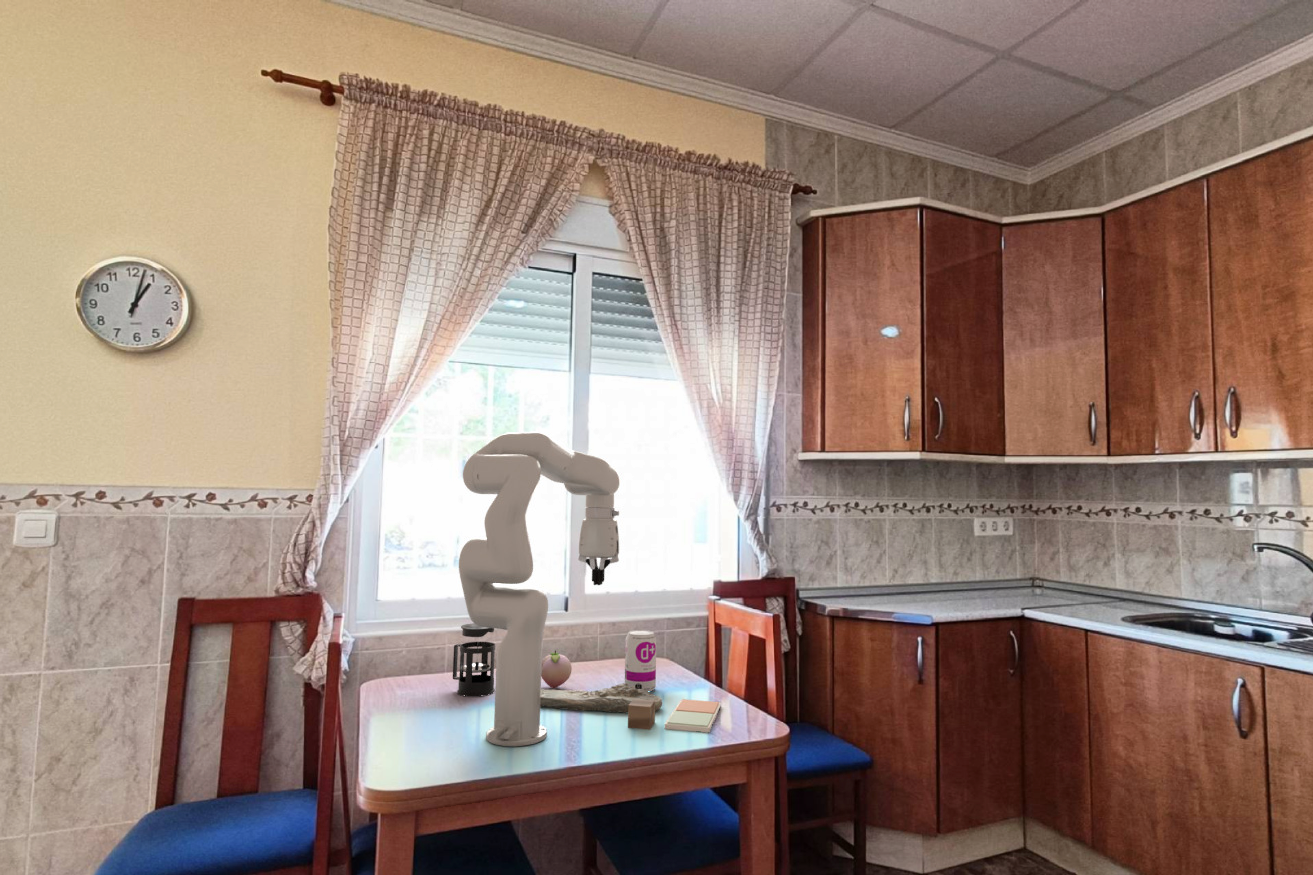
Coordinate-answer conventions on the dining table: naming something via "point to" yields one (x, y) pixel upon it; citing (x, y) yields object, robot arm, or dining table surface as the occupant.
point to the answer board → (693, 715)
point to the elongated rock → (597, 699)
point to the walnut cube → (641, 714)
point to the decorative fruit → (555, 669)
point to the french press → (474, 683)
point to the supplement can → (640, 660)
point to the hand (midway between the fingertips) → (597, 584)
